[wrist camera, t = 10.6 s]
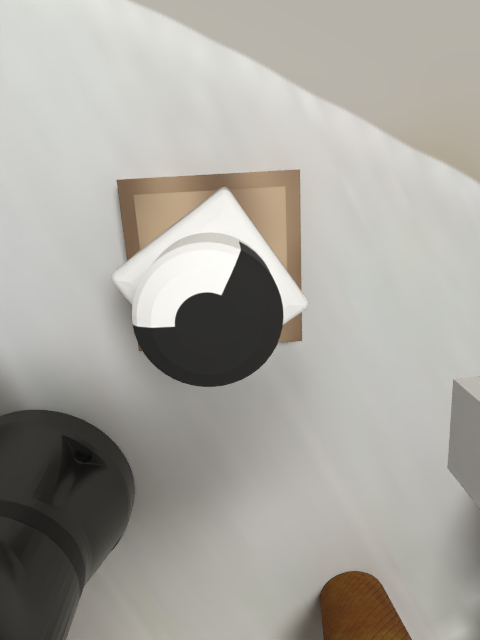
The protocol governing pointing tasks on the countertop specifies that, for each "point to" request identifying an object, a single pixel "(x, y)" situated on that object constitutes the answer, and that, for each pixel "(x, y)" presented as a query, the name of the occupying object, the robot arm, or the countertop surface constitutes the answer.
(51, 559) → the robot arm
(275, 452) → the countertop surface
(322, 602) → the disposable coffee cup
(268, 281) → the container
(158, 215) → the stand
